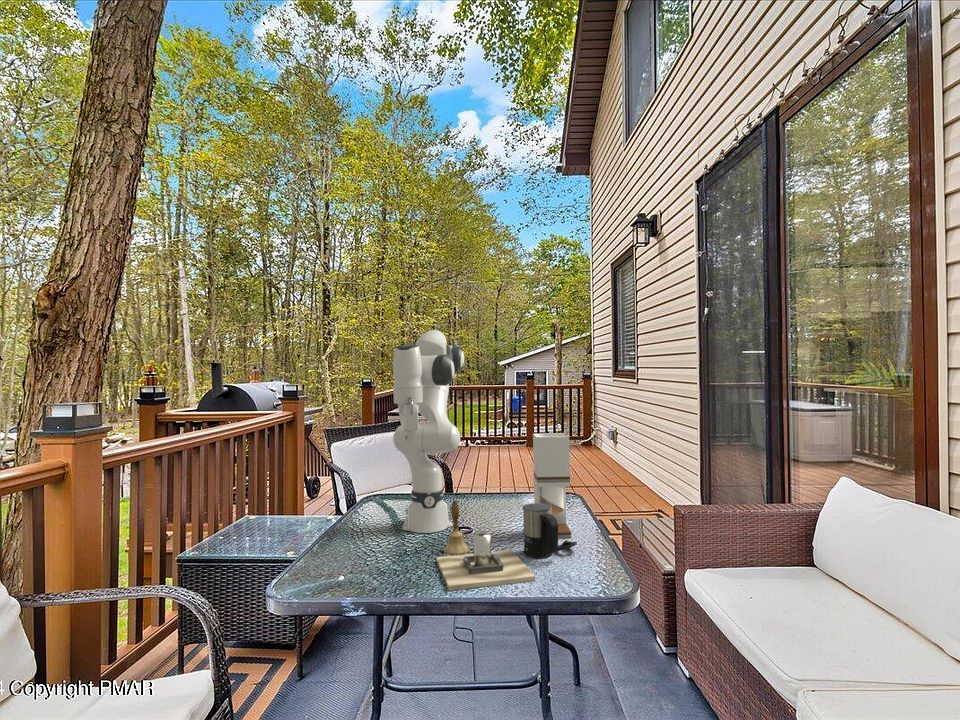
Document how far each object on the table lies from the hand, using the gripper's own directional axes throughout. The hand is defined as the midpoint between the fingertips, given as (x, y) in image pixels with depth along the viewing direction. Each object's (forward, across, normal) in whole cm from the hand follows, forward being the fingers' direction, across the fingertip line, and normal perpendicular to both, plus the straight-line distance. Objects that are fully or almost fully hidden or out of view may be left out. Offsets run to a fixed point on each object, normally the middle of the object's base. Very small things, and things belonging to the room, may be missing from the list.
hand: (409, 442), depth 151 cm
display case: (+38, +15, -51) cm, 65 cm away
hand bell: (+37, +8, -15) cm, 41 cm away
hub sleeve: (+35, -11, -19) cm, 42 cm away
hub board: (+37, -11, -19) cm, 43 cm away
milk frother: (+38, -3, -43) cm, 57 cm away
